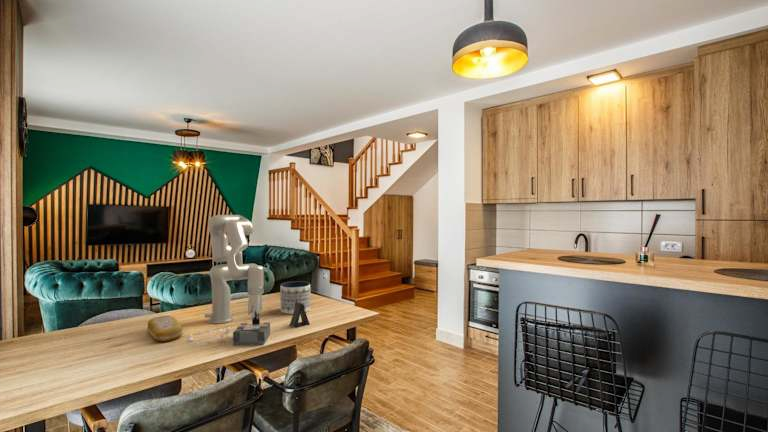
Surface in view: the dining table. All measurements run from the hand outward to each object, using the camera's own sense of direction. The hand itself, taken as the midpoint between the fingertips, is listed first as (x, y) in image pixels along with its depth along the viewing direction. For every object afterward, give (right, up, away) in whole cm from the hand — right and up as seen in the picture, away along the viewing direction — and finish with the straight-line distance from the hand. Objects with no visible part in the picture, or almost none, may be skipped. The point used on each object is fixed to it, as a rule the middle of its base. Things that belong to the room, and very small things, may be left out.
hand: (255, 326), depth 184 cm
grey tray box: (+1, -3, -6) cm, 7 cm away
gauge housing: (+1, -4, -7) cm, 8 cm away
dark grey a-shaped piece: (+18, -4, +16) cm, 25 cm away
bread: (-46, -5, 0) cm, 46 cm away
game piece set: (-22, -5, -3) cm, 23 cm away
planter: (+9, -4, +45) cm, 46 cm away
